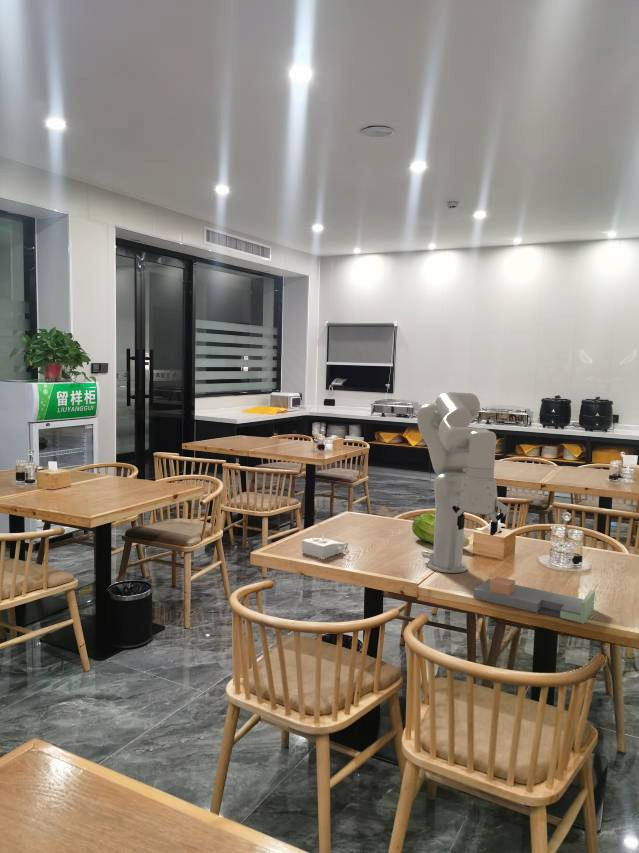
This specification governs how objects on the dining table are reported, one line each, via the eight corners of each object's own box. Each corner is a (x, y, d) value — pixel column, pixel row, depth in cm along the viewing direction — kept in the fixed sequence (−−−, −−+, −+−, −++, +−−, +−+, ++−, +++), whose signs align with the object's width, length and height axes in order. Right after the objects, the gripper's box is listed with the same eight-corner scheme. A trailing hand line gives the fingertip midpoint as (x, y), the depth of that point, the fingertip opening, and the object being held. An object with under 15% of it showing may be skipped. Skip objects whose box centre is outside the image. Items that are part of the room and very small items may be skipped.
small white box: (362, 562, 222) (331, 563, 210) (320, 550, 236) (289, 550, 224) (365, 540, 223) (335, 539, 211) (323, 528, 236) (293, 527, 224)
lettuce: (452, 542, 224) (473, 518, 230) (402, 523, 243) (423, 501, 249) (462, 565, 230) (482, 541, 235) (413, 545, 249) (432, 524, 254)
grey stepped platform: (472, 597, 183) (474, 579, 183) (488, 585, 194) (489, 568, 194) (583, 623, 167) (585, 603, 166) (593, 609, 178) (595, 589, 177)
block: (489, 591, 182) (490, 581, 181) (495, 586, 186) (496, 576, 186) (508, 595, 179) (509, 585, 178) (514, 590, 183) (515, 580, 183)
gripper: (447, 471, 186) (443, 529, 187) (506, 478, 176) (502, 539, 178) (456, 468, 192) (453, 524, 194) (514, 475, 183) (510, 534, 184)
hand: (476, 531), depth 186 cm, fingers open, 9 cm apart
